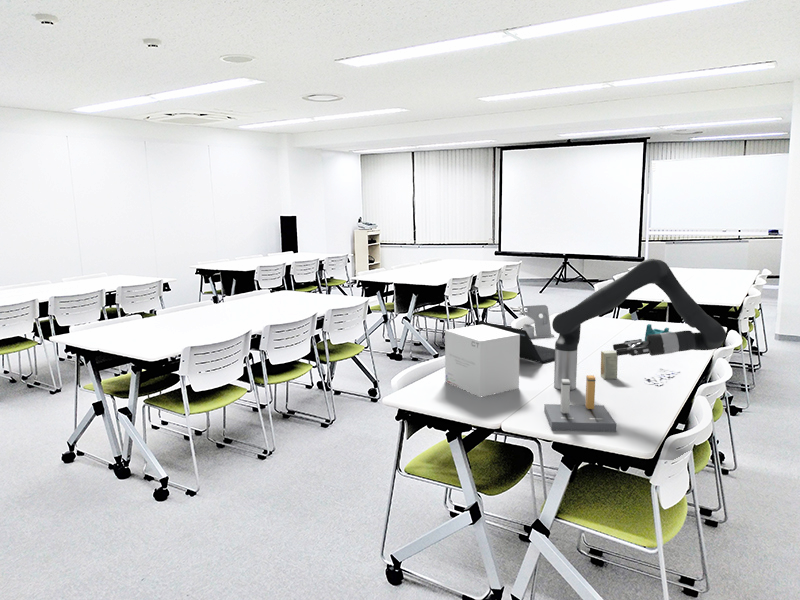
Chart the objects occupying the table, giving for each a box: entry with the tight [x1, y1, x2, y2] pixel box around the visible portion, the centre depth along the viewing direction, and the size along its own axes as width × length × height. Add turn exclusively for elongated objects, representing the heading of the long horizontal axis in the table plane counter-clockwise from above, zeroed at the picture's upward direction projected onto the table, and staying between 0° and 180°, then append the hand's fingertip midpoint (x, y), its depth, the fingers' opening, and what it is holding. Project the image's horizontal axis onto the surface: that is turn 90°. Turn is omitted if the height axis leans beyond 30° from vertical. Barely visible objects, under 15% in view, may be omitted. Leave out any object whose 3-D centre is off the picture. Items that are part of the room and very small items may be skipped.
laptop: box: [477, 320, 555, 363], centre depth 293 cm, size 33×38×19 cm
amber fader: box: [584, 374, 597, 409], centre depth 207 cm, size 3×3×12 cm
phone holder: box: [521, 304, 555, 339], centre depth 337 cm, size 17×10×18 cm, turn 101°
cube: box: [444, 324, 520, 398], centre depth 246 cm, size 25×21×24 cm
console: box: [543, 403, 617, 433], centre depth 204 cm, size 18×22×3 cm
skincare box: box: [600, 350, 619, 380], centre depth 254 cm, size 6×4×12 cm
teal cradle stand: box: [644, 323, 670, 341], centre depth 317 cm, size 18×11×10 cm, turn 141°
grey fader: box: [560, 379, 571, 413], centre depth 204 cm, size 3×3×12 cm
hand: (614, 350), depth 203 cm, fingers open, 8 cm apart
